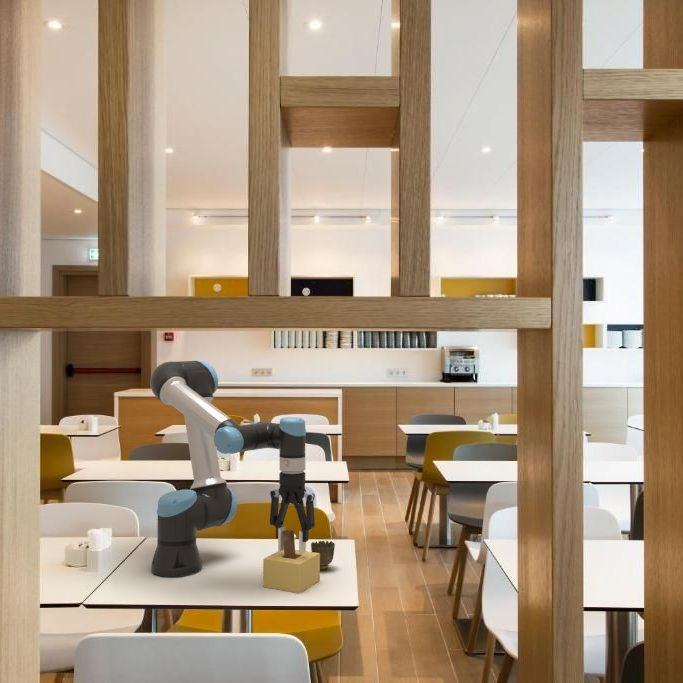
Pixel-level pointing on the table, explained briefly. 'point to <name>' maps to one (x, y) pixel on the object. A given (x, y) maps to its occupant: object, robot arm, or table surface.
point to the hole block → (291, 571)
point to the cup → (324, 552)
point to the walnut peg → (289, 544)
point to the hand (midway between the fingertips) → (291, 551)
